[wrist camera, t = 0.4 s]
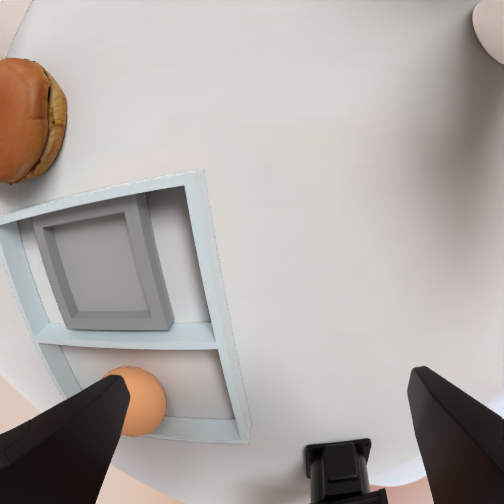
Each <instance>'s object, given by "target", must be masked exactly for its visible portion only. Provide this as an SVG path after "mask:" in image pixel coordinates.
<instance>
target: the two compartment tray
mask: <svg viewBox="0 0 504 504" xmlns="http://www.w3.org/2000/svg"><path fill="white" fill-rule="evenodd" d="M183 185H184V186H185V192H186V197H187V203H188V209H189V214H190V220H191V225H192V230H193V236H194V241H195V246H196V251H197V256H198V261H199V266H200V271H201V276H202V281H203V286H204V290H205V295H206V300H207V304H208V309H209V313H210V318H211V322H208V323H181V324H172V325H171V326H170V328H169V330H88V329H67V328H66V325H65V324H64V323H50V322H49V320H48V317H47V315H46V312H45V309H44V307H43V304H42V302H41V299H40V296H39V293H38V291H37V288H36V285H35V282H34V279H33V276H32V273H31V270H30V267H29V264H28V261H27V257H26V254H25V251H24V247H23V244H22V240H21V236H20V232H19V229H18V225H17V220H21V219H24V218H28V217H32V216H36V215H40V214H44V213H48V212H52V211H56V210H61V209H65V208H69V207H74V206H78V205H83V204H87V203H92V202H96V201H101V200H106V199H111V198H116V197H121V196H126V195H131V194H137V193H142V192H148V191H153V190H159V189H165V188H171V187H177V186H183ZM0 255H1V258H2V262H3V265H4V268H5V271H6V274H7V277H8V280H9V283H10V286H11V288H12V291H13V294H14V297H15V299H16V302H17V304H18V307H19V309H20V312H21V314H22V317H23V319H24V322H25V324H26V326H27V329H28V331H29V333H30V335H31V337H32V340H33V342H34V344H35V346H36V348H37V350H38V352H39V354H40V356H41V358H42V360H43V362H44V364H45V366H46V368H47V370H48V372H49V374H50V376H51V378H52V380H53V381H54V383H55V385H56V387H57V389H58V390H59V392H60V394H61V396H62V397H63V399H64V400H66V399H68V398H70V397H72V396H73V395H75V394H77V393H79V392H80V391H82V390H81V388H80V386H79V384H78V382H77V380H76V378H75V376H74V374H73V372H72V370H71V368H70V366H69V364H68V362H67V360H66V358H65V356H64V354H63V352H62V350H61V347H60V345H69V346H82V347H98V348H119V349H156V350H196V349H218V352H219V357H220V361H221V365H222V369H223V373H224V377H225V381H226V385H227V389H228V393H229V397H230V400H231V404H232V408H233V412H234V416H235V419H198V418H181V417H167V416H164V418H163V420H162V422H161V423H160V424H159V426H158V427H157V428H156V429H154V430H153V431H152V432H150V433H148V434H145V435H142V437H149V438H157V439H166V440H176V441H187V442H201V443H222V444H249V442H250V434H251V427H252V421H251V417H250V412H249V408H248V403H247V398H246V394H245V389H244V384H243V379H242V375H241V370H240V365H239V360H238V355H237V350H236V345H235V340H234V335H233V330H232V325H231V320H230V315H229V310H228V304H227V299H226V294H225V288H224V283H223V278H222V272H221V267H220V261H219V256H218V250H217V244H216V238H215V233H214V227H213V221H212V215H211V209H210V203H209V197H208V191H207V185H206V178H205V172H204V169H198V170H192V171H186V172H180V173H174V174H168V175H163V176H158V177H152V178H147V179H142V180H137V181H132V182H127V183H123V184H118V185H113V186H109V187H104V188H100V189H96V190H91V191H87V192H83V193H79V194H75V195H71V196H67V197H63V198H59V199H55V200H52V201H48V202H44V203H41V204H37V205H33V206H30V207H26V208H23V209H20V210H16V211H13V212H10V213H7V214H5V215H2V216H0Z"/></svg>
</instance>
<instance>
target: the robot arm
mask: <svg viewBox="0 0 504 504" xmlns="http://www.w3.org/2000/svg"><path fill="white" fill-rule="evenodd" d="M407 394H408V399H409V404H410V409H411V415H412V420H413V425H414V431H415V436H416V439H417V443H418V446H419V450H420V453H421V456H422V460H423V463H424V467H425V470H426V474H427V478H428V481H429V485H430V489H431V492H432V497H433V501H434V504H504V419H503V420H502V417H501V416H499V415H498V414H496V413H495V412H493V411H492V410H490V409H489V408H487V407H486V406H484V405H483V404H481V403H480V402H478V401H477V400H476V399H474V398H473V397H471V396H470V395H468V394H467V393H465V392H464V391H462V390H461V389H459V388H458V387H456V386H455V385H453V384H452V383H450V382H449V381H447V380H446V379H444V378H443V377H441V376H440V375H438V374H437V373H435V372H434V371H432V370H431V369H429V368H428V367H426V366H420V367H415V368H413V369H412V371H411V375H410V380H409V384H408V389H407ZM129 403H130V392H129V390H128V388H127V385H126V383H125V380H124V378H123V377H122V376H121V375H115V374H110V375H108V376H106V377H105V378H103V379H101V380H99V381H98V382H96V383H94V384H93V385H91V386H89V387H87V388H86V389H84V390H82V391H80V392H79V393H77V394H75V395H73V396H72V397H70V398H68V399H66V400H64V401H63V402H61V403H59V404H57V405H56V406H54V407H52V408H50V409H48V410H47V411H45V412H43V413H41V414H39V415H38V416H36V417H34V418H33V419H32V420H31V419H30V420H29V421H27V422H25V423H23V424H21V425H19V426H17V427H15V428H13V429H11V430H9V431H7V432H5V433H2V434H0V504H95V503H96V500H97V497H98V494H99V491H100V489H101V486H102V483H103V481H104V478H105V475H106V473H107V470H108V467H109V465H110V462H111V459H112V457H113V454H114V452H115V449H116V446H117V444H118V441H119V438H120V435H121V432H122V429H123V425H124V421H125V417H126V414H127V410H128V406H129ZM370 448H371V440H370V439H362V440H355V441H347V442H339V443H330V444H319V445H309V446H307V447H306V472H307V478H309V479H310V480H311V504H388V500H387V495H386V491H385V488H383V489H379V490H378V491H374V492H370V486H369V480H368V473H367V467H366V465H367V461H368V457H369V453H370Z"/></svg>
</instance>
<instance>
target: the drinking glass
mask: <svg viewBox="0 0 504 504" xmlns="http://www.w3.org/2000/svg"><path fill="white" fill-rule="evenodd" d="M472 21H473V27H474V30H475V33H476V35H477V37H478V39H479V41H480V43H481V44H482V46H483V47H484V49H485V50H486V51H487V52H488V53H489V55H491V56H492V57H493V58H494V59H495V60H497V61H498V62H500V63H501V64H504V0H482V1H480V2H479V3H478V4H477V5H476V6H475V8H474V10H473V15H472Z"/></svg>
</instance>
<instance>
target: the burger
mask: <svg viewBox="0 0 504 504" xmlns="http://www.w3.org/2000/svg"><path fill="white" fill-rule="evenodd" d="M66 116H67V101H66V98H65V95H64V93H63V91H62V89H61V88H60V86H59V85H58V84H57V82H56V81H55V79H54V78H53V77H52V76H51V75H50V73H49V72H47V71H46V70H45V69H44V68H43V67H42V66H41V65H39V64H38V63H36V62H35V61H29V60H27V59H19V58H5V59H2V60H0V182H6V183H8V182H9V184H11V185H12V184H13V183H14V184H17V183H20V182H22V181H24V180H26V179H29V178H34V177H37V176H39V175H41V174H43V173H44V172H45V171H46V170H47V169H48V168H49V166H50V165H51V163H52V162H53V161H54V159H55V157H56V156H57V154H58V152H59V150H60V148H61V143H62V141H63V137H64V132H65V126H66V119H67V117H66Z"/></svg>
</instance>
